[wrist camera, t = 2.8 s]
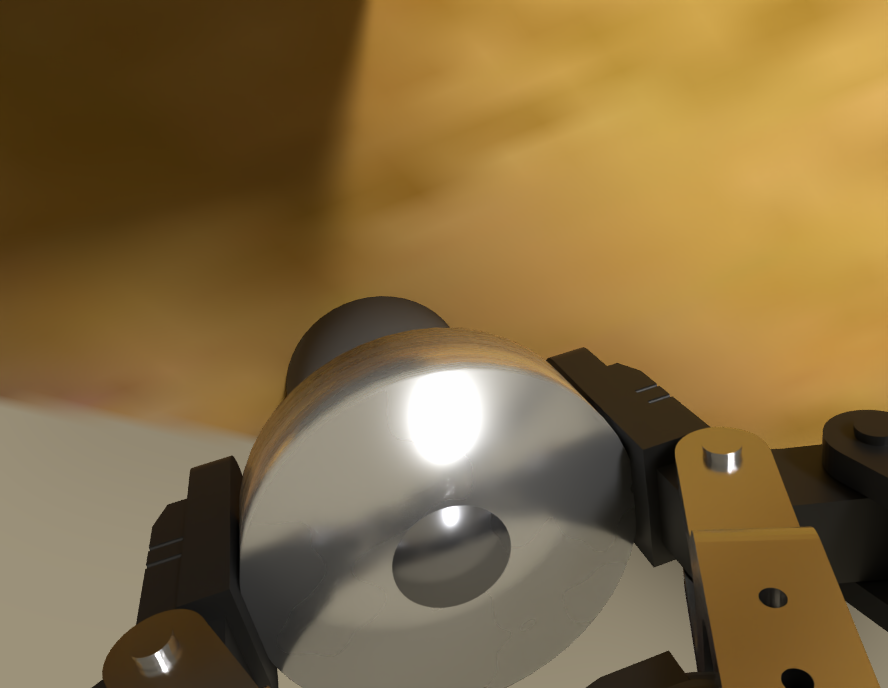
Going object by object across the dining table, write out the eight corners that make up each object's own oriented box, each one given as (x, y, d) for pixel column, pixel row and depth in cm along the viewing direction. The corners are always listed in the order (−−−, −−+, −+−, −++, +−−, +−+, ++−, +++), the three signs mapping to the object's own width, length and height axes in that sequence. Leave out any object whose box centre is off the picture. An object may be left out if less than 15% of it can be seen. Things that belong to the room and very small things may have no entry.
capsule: (445, 274, 15) (520, 355, 11) (478, 430, 17) (552, 547, 13) (262, 327, 15) (272, 431, 11) (315, 482, 17) (340, 623, 13)
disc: (570, 280, 11) (620, 317, 10) (607, 570, 14) (652, 633, 12) (182, 394, 10) (173, 454, 9) (300, 683, 13) (308, 765, 11)
